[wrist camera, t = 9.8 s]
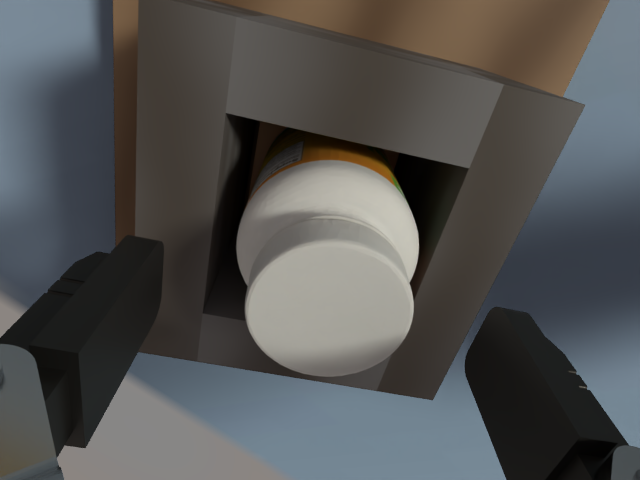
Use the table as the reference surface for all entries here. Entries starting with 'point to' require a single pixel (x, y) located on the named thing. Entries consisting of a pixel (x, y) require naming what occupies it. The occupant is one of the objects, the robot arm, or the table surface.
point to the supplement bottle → (327, 255)
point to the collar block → (347, 124)
